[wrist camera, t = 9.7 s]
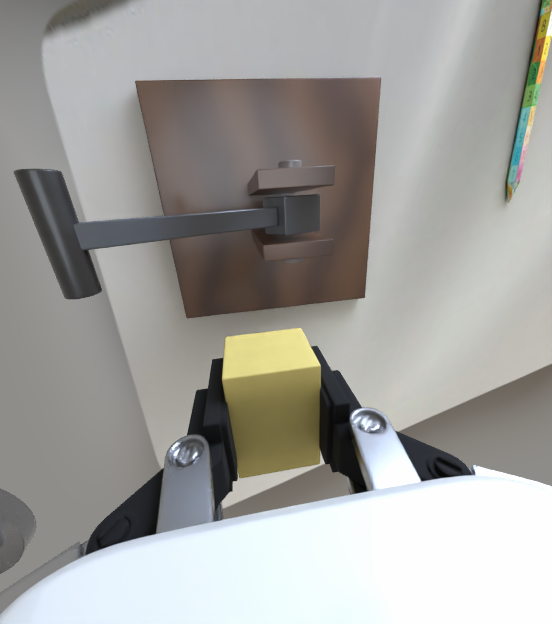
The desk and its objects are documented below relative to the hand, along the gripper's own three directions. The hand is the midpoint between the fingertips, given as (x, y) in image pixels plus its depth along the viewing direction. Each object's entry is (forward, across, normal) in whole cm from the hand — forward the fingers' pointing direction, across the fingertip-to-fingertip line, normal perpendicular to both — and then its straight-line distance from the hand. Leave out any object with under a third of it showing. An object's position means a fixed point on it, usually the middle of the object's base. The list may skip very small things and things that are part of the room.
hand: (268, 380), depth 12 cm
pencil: (+18, -29, -15) cm, 37 cm away
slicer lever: (+6, +3, -7) cm, 10 cm away
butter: (0, 0, 0) cm, 0 cm away
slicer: (+18, -3, -7) cm, 19 cm away
